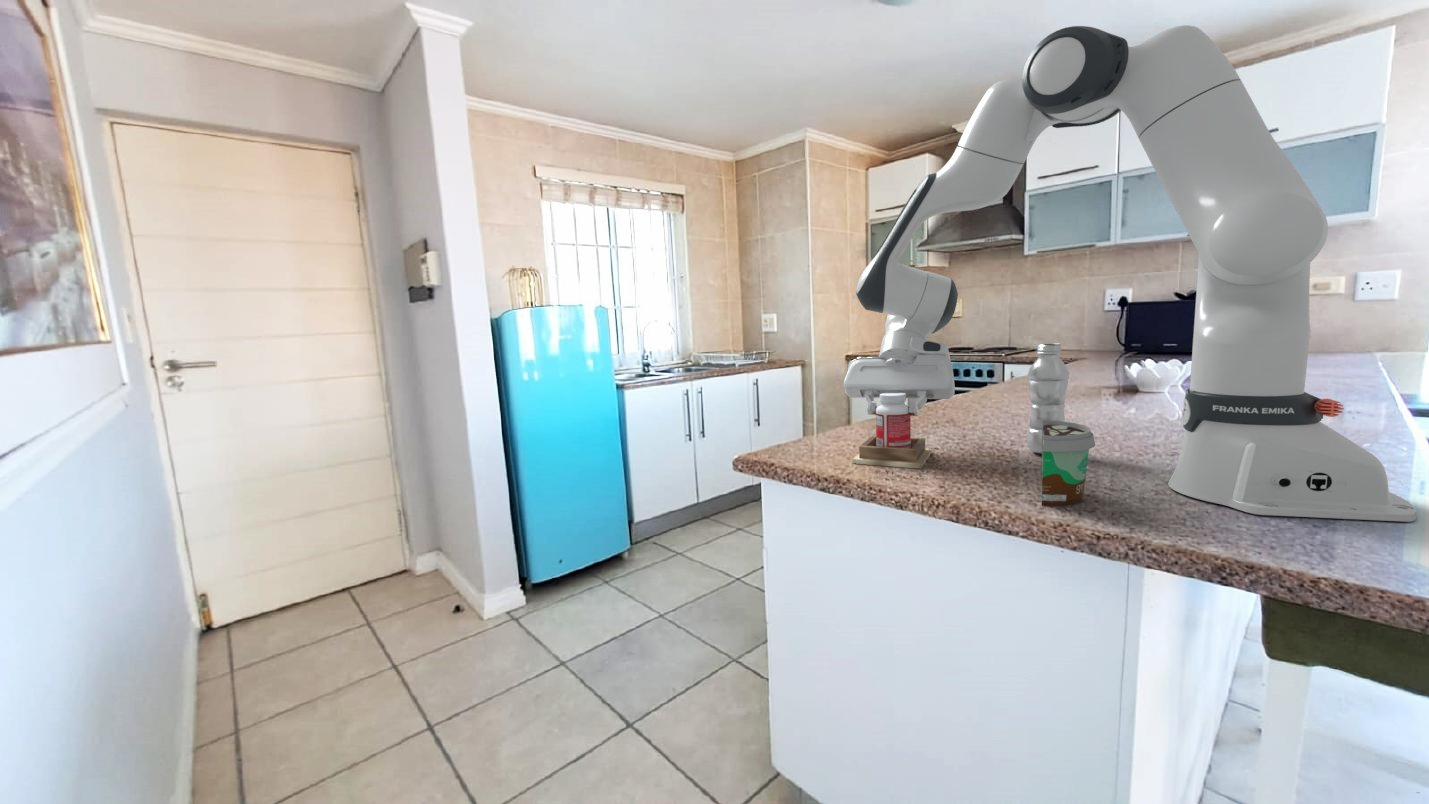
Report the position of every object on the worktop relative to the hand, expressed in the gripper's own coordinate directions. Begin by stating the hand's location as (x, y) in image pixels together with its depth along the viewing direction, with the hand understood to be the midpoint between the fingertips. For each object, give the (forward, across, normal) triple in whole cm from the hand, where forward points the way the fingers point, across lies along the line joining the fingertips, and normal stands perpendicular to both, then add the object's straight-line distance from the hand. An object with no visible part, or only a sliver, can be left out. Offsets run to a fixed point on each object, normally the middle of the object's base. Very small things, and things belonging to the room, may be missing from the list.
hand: (892, 413), depth 102 cm
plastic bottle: (-2, +25, +14) cm, 29 cm away
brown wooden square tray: (+6, 0, +6) cm, 9 cm away
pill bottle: (+5, 0, +6) cm, 8 cm away
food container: (+16, +27, -4) cm, 32 cm away
